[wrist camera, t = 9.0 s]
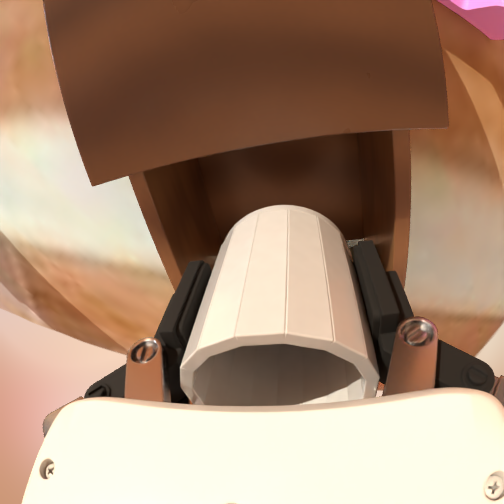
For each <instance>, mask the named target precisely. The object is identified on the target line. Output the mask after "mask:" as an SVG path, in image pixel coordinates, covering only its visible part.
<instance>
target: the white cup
mask: <svg viewBox="0 0 504 504" xmlns="http://www.w3.org/2000/svg"><path fill="white" fill-rule="evenodd" d="M379 379H380V375H379V370H378V365H377V360H376V354H375V349H374V345H373V340H372V335H371V331H370V326H369V322H368V317H367V313H366V309H365V305H364V300H363V296H362V292H361V288H360V285H359V281H358V277H357V273H356V269H355V266H354V262H353V258H352V255H351V251H350V250H349V248H348V245H347V242H346V240H345V238H344V236H343V234H342V233H341V231H340V230H339V229H338V228H337V226H336V225H335V224H334V223H333V222H331V221H330V220H329V219H328V218H326V217H325V216H323V215H322V214H320V213H318V212H316V211H313V210H311V209H308V208H304V207H300V206H294V205H275V206H270V207H265V208H262V209H259V210H256V211H254V212H252V213H250V214H248V215H246V216H245V217H243V218H242V219H241V220H239V221H238V222H237V223H236V224H235V225H234V226H233V227H232V229H231V230H230V231H229V233H228V234H227V236H226V238H225V240H224V243H223V244H222V245H221V248H220V251H219V253H218V256H217V259H216V262H215V265H214V268H213V270H212V273H211V276H210V279H209V282H208V285H207V288H206V291H205V294H204V296H203V299H202V302H201V305H200V308H199V311H198V314H197V317H196V320H195V323H194V326H193V329H192V332H191V335H190V338H189V341H188V344H187V347H186V350H185V353H184V357H183V360H182V363H181V366H180V386H181V389H182V390H183V391H184V393H185V394H186V396H187V397H188V398H189V400H190V401H191V402H192V404H193V405H213V406H285V405H304V404H319V403H331V402H341V401H350V400H358V399H366V398H374V397H376V393H377V388H378V384H379Z"/></svg>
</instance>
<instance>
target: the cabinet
mask: <svg viewBox="0 0 504 504" xmlns="http://www.w3.org/2000/svg"><path fill="white" fill-rule="evenodd" d="M43 5H44V12H45V19H46V25H47V31H48V36H49V42H50V47H51V52H52V56H53V61H54V65H55V70H56V74H57V78H58V82H59V86H60V90H61V93H62V97H63V101H64V104H65V108H66V111H67V115H68V118H69V121H70V125H71V128H72V131H73V134H74V137H75V140H76V143H77V146H78V149H79V152H80V155H81V158H82V161H83V163H84V166H85V169H86V172H87V174H88V177H89V180H90V182H91V185H92V186H96V185H99V184H102V183H106V182H109V181H112V180H116V179H119V178H122V177H126V176H129V175H133V174H136V173H140V172H143V171H147V170H151V169H155V168H158V167H162V166H166V165H170V164H174V163H178V162H183V161H187V160H191V159H195V158H200V157H204V156H209V155H214V154H219V153H223V152H228V151H234V150H239V149H244V148H250V147H255V146H261V145H267V144H273V143H279V142H286V141H293V140H300V139H307V138H315V137H323V136H332V135H341V134H351V133H362V132H375V131H390V130H410V129H448V128H449V118H448V102H447V90H446V80H445V71H444V63H443V57H442V50H441V44H440V38H439V33H438V28H437V23H436V19H435V14H434V10H433V6H432V2H431V0H43Z"/></svg>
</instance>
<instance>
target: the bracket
mask: <svg viewBox="0 0 504 504" xmlns="http://www.w3.org/2000/svg"><path fill="white" fill-rule="evenodd" d="M437 1H438V2H440V3H442V4H443V5H445V6H446V7H448V8H449V9H451V10H452V11H454V12H455V13H457V14H458V15H460V16H461V17H462V18H464V19H465V20H467V21H468V22H469V23H471V24H472V25H473V26H475V27H476V28H477V29H479V30H480V31H481V32H483V33H484V34H485V35H486V36H488V37H489V38H490V39H491V40H504V0H437Z"/></svg>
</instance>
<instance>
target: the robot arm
mask: <svg viewBox="0 0 504 504" xmlns="http://www.w3.org/2000/svg"><path fill="white" fill-rule="evenodd" d="M353 252H354V266H355V269H356V273H357V277H358V281H359V285H360V288H361V292H362V296H363V300H364V305H365V309H366V313H367V317H368V322H369V326H370V331H371V335H372V340H373V345H374V349H375V354H376V360H377V365H378V370H379V375H380V379H379V381H380V382H381V383H383V384H385V386H384V390H383V394H382V396H381V397H374V398H366V399H358V400H350V401H341V402H331V403H319V404H304V405H285V406H213V405H193V404H192V402H191V401H190V400H189V398H188V397H187V396H186V394H185V393H184V391H183V390H182V389H181V386H180V366H181V363H182V360H183V357H184V353H185V350H186V347H187V344H188V341H189V338H190V335H191V332H192V329H193V326H194V323H195V320H196V317H197V314H198V311H199V308H200V305H201V302H202V299H203V296H204V294H205V291H206V288H207V285H208V282H209V279H210V276H211V273H212V271H211V268H210V265H209V264H208V263H205V262H204V261H203V260H199V261H190V262H189V263H188V265H187V267H186V270H185V272H184V274H183V276H182V278H181V281H180V283H179V285H178V287H177V289H176V292H175V294H174V295H173V296H172V298H171V300H170V302H169V305H168V307H167V309H166V311H165V314H164V316H163V318H162V320H161V323H160V325H159V327H158V330H157V332H156V334H155V337H154V338H152V337H148V338H143V339H141V340H139V341H137V342H136V343H134V344H133V345H132V346H131V347H130V349H129V351H128V354H127V363H126V364H125V365H123V366H122V367H120V368H119V369H117V370H115V371H114V372H112V373H110V374H109V375H107V376H105V377H104V378H102V379H101V380H99V381H97V382H96V383H94V384H93V385H91V386H90V387H89V389H88V390H87V392H86V393H85V397H84V398H83V397H79V398H77V399H75V400H74V401H72V402H70V403H68V404H66V405H64V406H62V407H60V408H59V409H57V410H55V411H53V412H51V413H50V414H48V415H47V416H46V418H45V419H44V422H43V432H44V437H45V439H44V442H43V444H42V446H41V449H40V451H39V454H38V456H37V459H36V461H35V464H34V467H33V470H32V472H31V475H30V478H29V481H28V485H27V487H26V490H25V494H24V497H23V501H22V504H504V376H502V375H501V376H500V378H498V377H496V376H494V373H493V370H492V369H491V368H490V366H489V365H488V364H486V363H485V362H483V361H481V360H479V359H477V358H475V357H473V356H471V355H469V354H467V353H465V352H463V351H461V350H459V349H457V348H455V347H453V346H451V345H449V344H447V343H445V342H443V341H441V340H439V339H438V331H437V328H436V326H435V325H434V324H433V323H432V322H431V321H430V320H428V319H426V318H423V317H419V316H417V317H414V315H413V312H412V309H411V307H410V304H409V302H408V299H407V296H406V294H405V291H404V289H403V286H402V284H401V281H400V279H399V277H398V274H397V272H396V271H395V270H394V271H387V272H385V270H384V268H383V265H382V263H381V260H380V258H379V255H378V253H377V250H376V248H375V245H374V243H373V241H372V240H367V241H359V242H358V245H357V246H354V247H353Z"/></svg>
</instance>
